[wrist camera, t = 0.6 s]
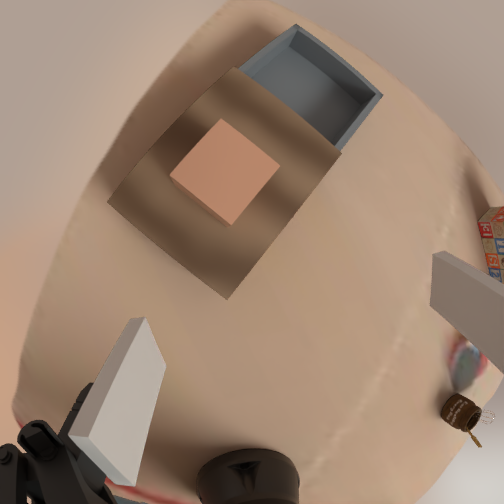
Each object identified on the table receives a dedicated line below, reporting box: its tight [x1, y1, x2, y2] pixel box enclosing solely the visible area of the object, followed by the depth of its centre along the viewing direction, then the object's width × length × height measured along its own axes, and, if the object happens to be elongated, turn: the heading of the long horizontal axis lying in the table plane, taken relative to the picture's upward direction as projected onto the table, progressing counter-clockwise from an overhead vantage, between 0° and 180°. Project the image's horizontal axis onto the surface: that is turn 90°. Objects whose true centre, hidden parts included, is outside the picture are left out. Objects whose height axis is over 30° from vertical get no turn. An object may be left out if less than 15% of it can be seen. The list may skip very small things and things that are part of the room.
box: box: [238, 24, 383, 151], centre depth 30 cm, size 12×14×4 cm
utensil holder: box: [441, 394, 493, 447], centre depth 34 cm, size 6×6×12 cm
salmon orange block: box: [170, 119, 280, 227], centre depth 23 cm, size 6×6×4 cm
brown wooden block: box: [107, 67, 342, 300], centre depth 28 cm, size 18×14×6 cm
